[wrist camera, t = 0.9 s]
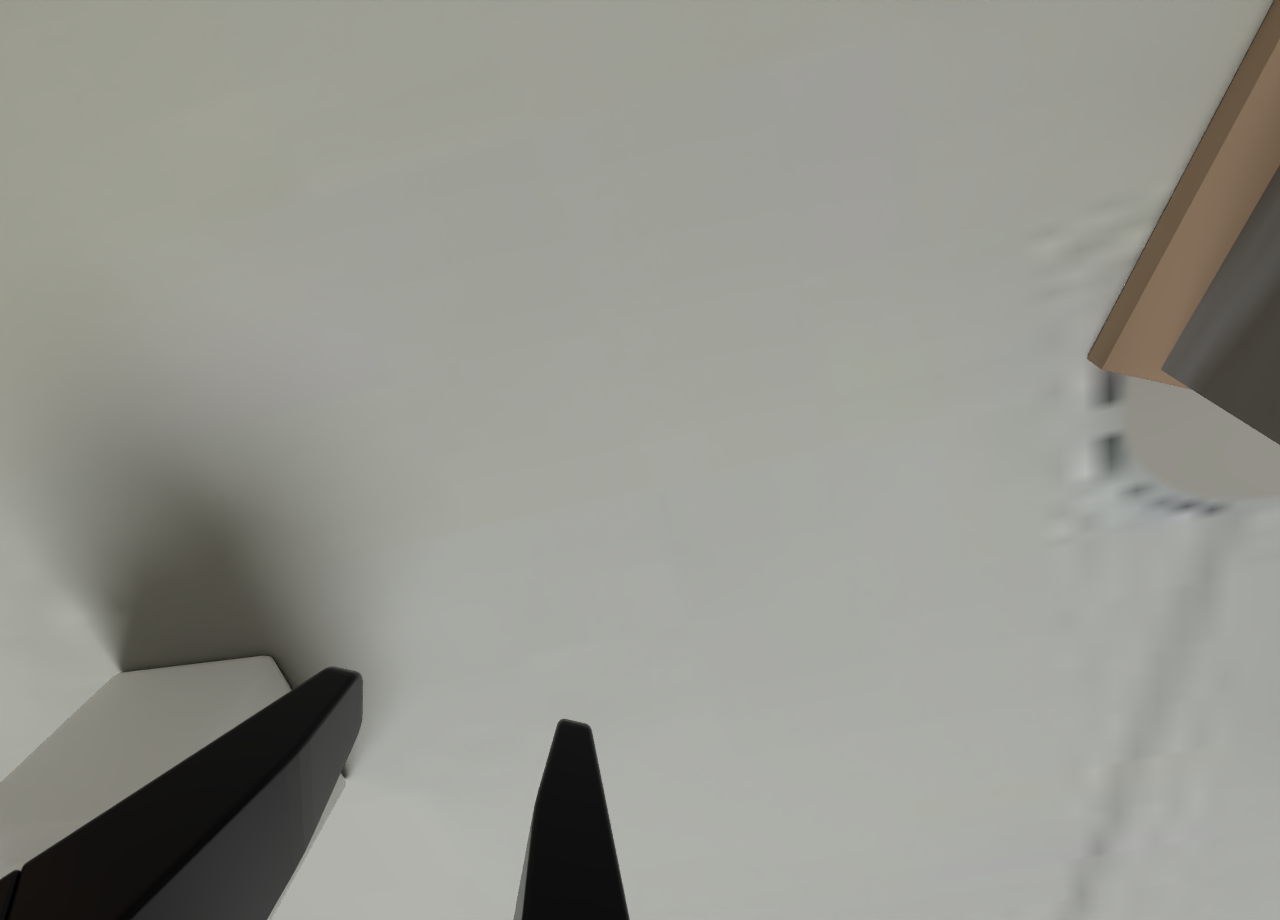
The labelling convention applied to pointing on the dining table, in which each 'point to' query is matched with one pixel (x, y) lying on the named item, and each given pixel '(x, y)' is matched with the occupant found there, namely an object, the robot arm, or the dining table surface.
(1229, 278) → the double box holder
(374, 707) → the dining table surface
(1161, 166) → the dining table surface
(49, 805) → the medicine bottle
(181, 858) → the robot arm
